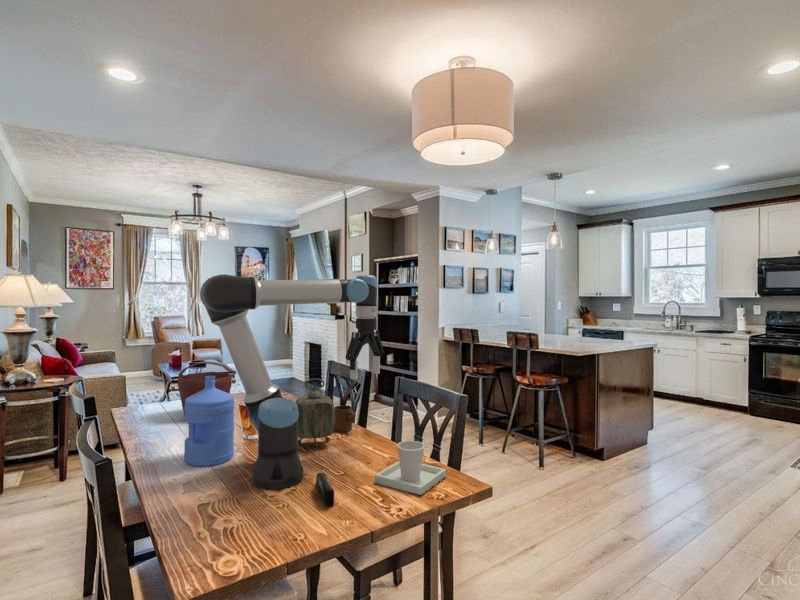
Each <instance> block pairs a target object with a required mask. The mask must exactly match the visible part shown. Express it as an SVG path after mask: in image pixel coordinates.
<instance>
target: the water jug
mask: <svg viewBox="0 0 800 600" xmlns="http://www.w3.org/2000/svg"><path fill="white" fill-rule="evenodd" d="M205 379H206V381H205V388H204V389H203V390H201V391H199V392H197V393H195V394H193V395H191V396H189V397H188V398H186V400H185V406H184V412H185V416H184V421H185V422H187V424H188V437H186V438H185V439H184V452H183V453H184V454H183V461H184V463H185V464H186V465H189V466H192V467H210V466H211V467H212V466H217V465H220V464H224V463H226V462H228V461H230V460H231V459H232V458H233V457H234V454H235V448H234V442H235V441H234V440H235V439H234V438H235V437H234V436H235V435H234V434H235V423H234V421H235V419H234V417H235V416H234V415H235V410H234V409H235V397H234V395H233V394H231V393H230V394H229V393H227V392H224V391H221V390H219V389H216V388H215V376H206V377H205ZM184 412H183V413H184Z"/></svg>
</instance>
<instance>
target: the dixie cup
mask: <svg viewBox="0 0 800 600" xmlns="http://www.w3.org/2000/svg"><path fill="white" fill-rule="evenodd" d="M396 447H397V450H398V451H397V452H398V461H399V462H400V471H401V478H402V479H403V480H405V481H417V480H419V479H420V472H421V464H423V456H424V450H425V449H424V448H425V444H424V443H422V442H421V441H417V440H403V441H400V442H398V443H397V445H396Z"/></svg>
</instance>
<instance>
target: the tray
mask: <svg viewBox="0 0 800 600" xmlns="http://www.w3.org/2000/svg"><path fill="white" fill-rule="evenodd" d="M445 477H446V478H447V469H446V468H443V467H437V466H434V465H430V464H426V463H422V464H421V472H420V479H419V480H417V481H405V480H403V479H402V478H401V471H400V462H399V460H398V461H396V462H395V463H393V464H391V465H389V466H388V467H385V468H384V469H382V470H381V471H379V472H377V473H375V474H374V484H376V483H377V485H380V484H381V485H380V486H383V485H385V486H384V487H387V486H389V487H388V488H390V487H393V488H392V489H394V488H396V489H395V490H397V489H401V490H404V491H408V492H412V493H416V494H420V495H422V494H423V493H424V492H426V491H427V490H428V489H430V488H431V487H432V486H434V485H435V484H436V483H437V482H439V481H440V480H442V479H443V478H444V479H446V478H445ZM444 479H443V480H444ZM443 480H442V481H443ZM440 482H441V481H440ZM440 482H439V483H440ZM436 485H437V484H436ZM436 485H435V486H436ZM435 486H434V487H435ZM431 489H432V488H431ZM431 489H430V490H431ZM401 490H400V491H401ZM404 491H403V492H404ZM408 492H407V493H408ZM427 492H428V491H427ZM427 492H426V493H427ZM423 495H424V494H423ZM423 495H422V496H423Z"/></svg>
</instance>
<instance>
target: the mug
mask: <svg viewBox="0 0 800 600" xmlns="http://www.w3.org/2000/svg"><path fill="white" fill-rule="evenodd" d="M334 408H335V426H334V431H335V432H337V433H347V432H350V431H352V429H353V423H354V422H355V420H356V414H355V412H354V411H353V406H351V405H337V406H334Z"/></svg>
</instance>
